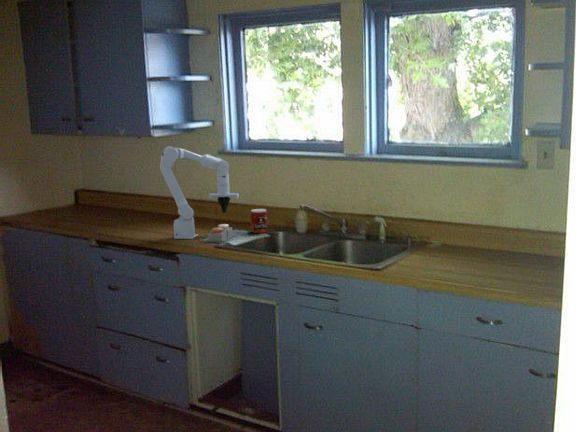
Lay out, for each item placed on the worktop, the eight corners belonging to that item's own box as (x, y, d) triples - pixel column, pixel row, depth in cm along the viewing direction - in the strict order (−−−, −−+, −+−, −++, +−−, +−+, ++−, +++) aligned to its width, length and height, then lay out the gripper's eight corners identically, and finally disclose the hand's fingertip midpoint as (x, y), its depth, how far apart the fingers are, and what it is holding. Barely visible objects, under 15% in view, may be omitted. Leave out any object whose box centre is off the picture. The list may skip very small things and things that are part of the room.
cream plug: (217, 235, 319) (216, 226, 318) (220, 232, 323) (220, 224, 323) (227, 235, 317) (226, 226, 317) (230, 233, 322) (230, 224, 321)
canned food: (253, 234, 323) (252, 212, 321) (250, 231, 330) (249, 209, 328) (269, 233, 325) (268, 210, 323) (265, 230, 332) (264, 208, 330)
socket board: (204, 242, 310) (204, 233, 309) (216, 234, 325) (216, 227, 324) (225, 242, 307) (224, 234, 307) (236, 235, 323) (235, 227, 322)
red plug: (210, 238, 310) (210, 229, 310) (214, 236, 315) (214, 227, 314) (220, 239, 309) (220, 229, 308) (224, 236, 314) (224, 227, 313)
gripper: (240, 183, 325) (241, 211, 328) (211, 183, 329) (213, 210, 331) (235, 185, 319) (236, 213, 321) (206, 185, 322) (208, 213, 325)
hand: (224, 212), depth 326 cm, fingers closed
